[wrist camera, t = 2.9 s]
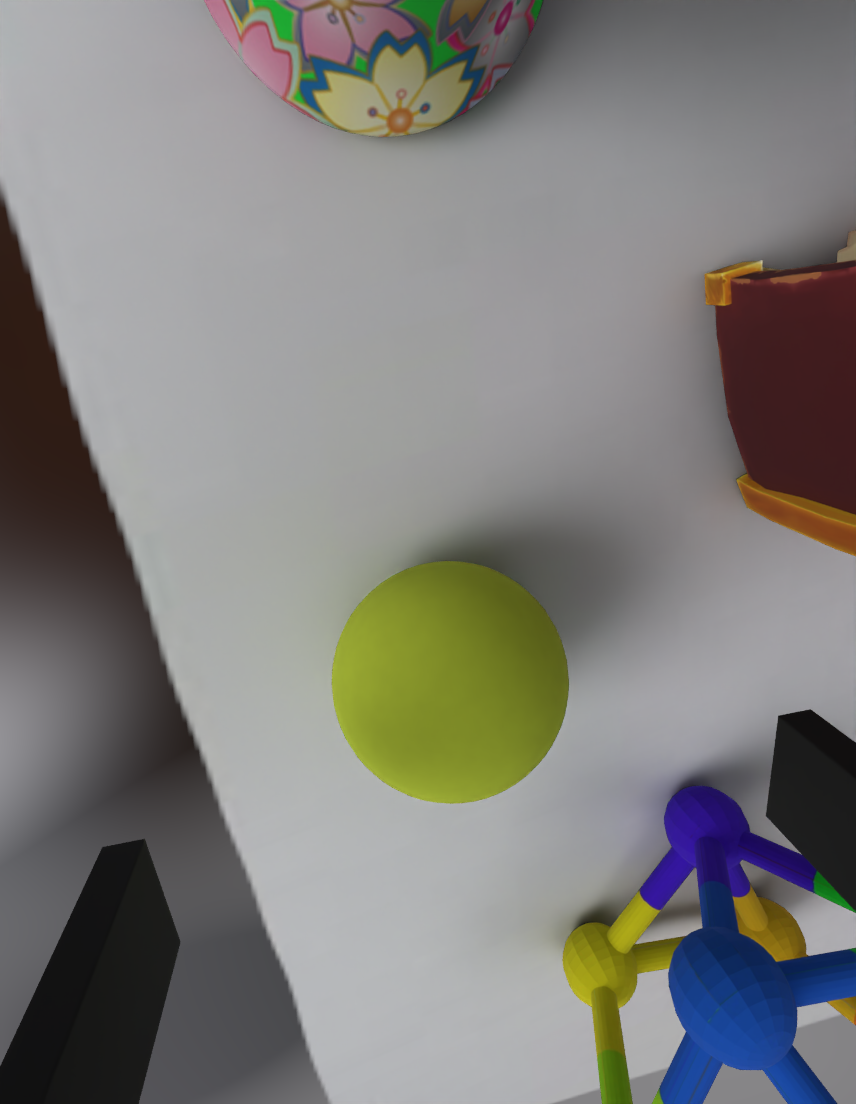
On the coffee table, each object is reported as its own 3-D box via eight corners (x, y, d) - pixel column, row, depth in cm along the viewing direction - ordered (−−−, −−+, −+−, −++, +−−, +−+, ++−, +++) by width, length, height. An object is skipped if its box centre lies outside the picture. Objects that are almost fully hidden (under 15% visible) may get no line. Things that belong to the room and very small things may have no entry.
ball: (317, 547, 19) (306, 650, 12) (522, 518, 19) (612, 602, 13) (348, 723, 21) (353, 886, 15) (530, 691, 22) (610, 834, 15)
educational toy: (792, 677, 25) (1454, 1087, 11) (787, 890, 29) (1246, 1369, 15) (448, 802, 22) (729, 1537, 8) (502, 1012, 27) (741, 1709, 13)
